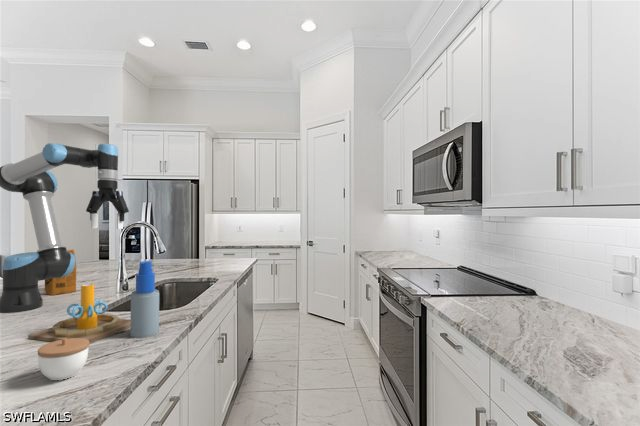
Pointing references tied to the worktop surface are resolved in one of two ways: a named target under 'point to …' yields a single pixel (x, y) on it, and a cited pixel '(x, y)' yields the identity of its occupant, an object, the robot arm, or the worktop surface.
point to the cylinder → (87, 308)
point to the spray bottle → (145, 304)
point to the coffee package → (62, 282)
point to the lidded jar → (63, 358)
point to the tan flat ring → (88, 331)
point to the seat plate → (49, 336)
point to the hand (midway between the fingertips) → (107, 228)
